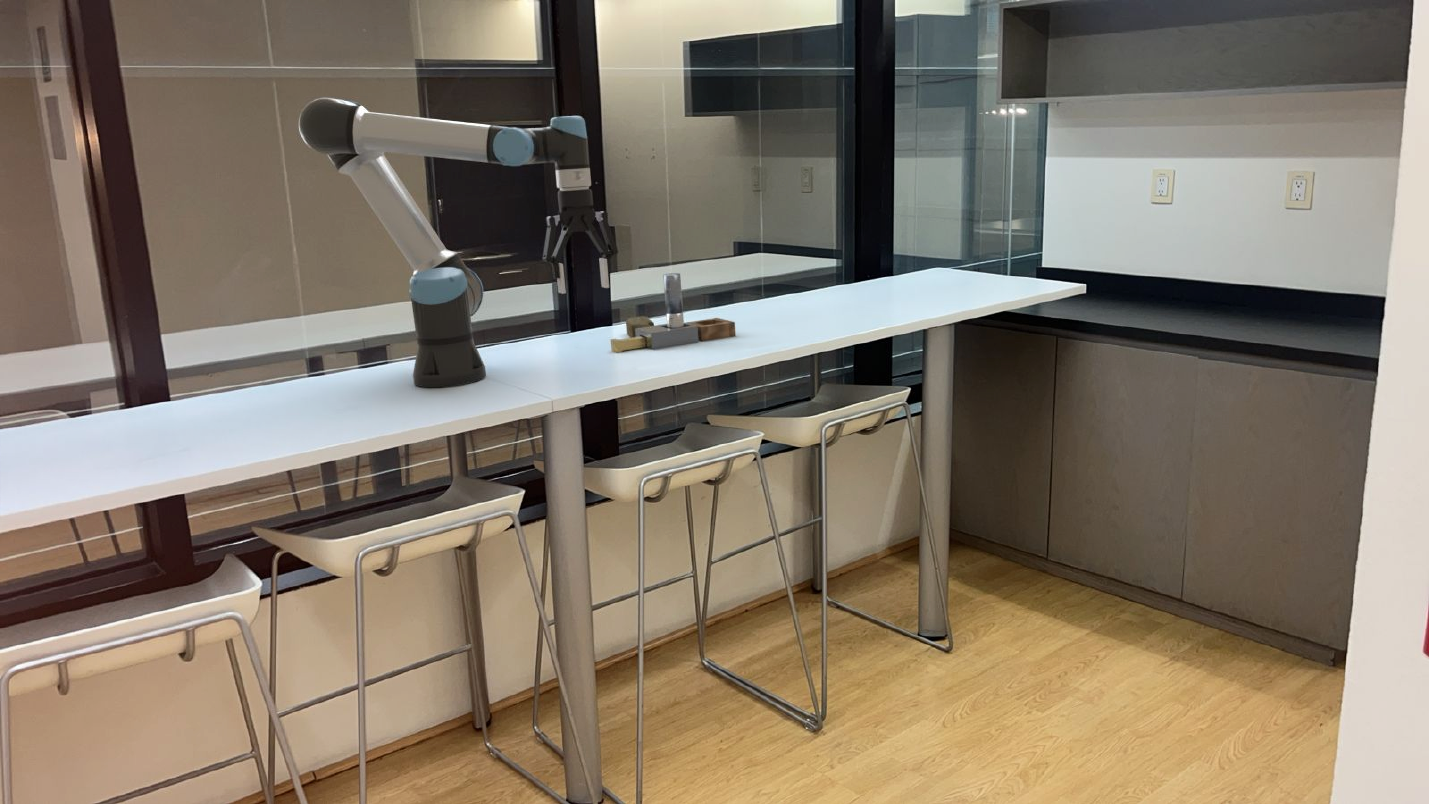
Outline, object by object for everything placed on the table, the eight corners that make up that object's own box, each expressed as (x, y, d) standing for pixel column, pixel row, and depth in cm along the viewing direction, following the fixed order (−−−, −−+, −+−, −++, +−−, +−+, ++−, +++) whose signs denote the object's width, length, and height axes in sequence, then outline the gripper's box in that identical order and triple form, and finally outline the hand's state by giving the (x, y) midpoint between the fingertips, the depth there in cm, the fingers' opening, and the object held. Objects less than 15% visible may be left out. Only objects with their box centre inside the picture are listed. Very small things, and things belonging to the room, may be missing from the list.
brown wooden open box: (702, 343, 249) (701, 327, 248) (685, 339, 257) (684, 322, 256) (735, 338, 253) (734, 322, 252) (717, 333, 261) (716, 317, 260)
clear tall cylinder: (672, 344, 248) (667, 276, 244) (665, 341, 252) (660, 274, 248) (688, 341, 250) (683, 274, 246) (680, 339, 253) (675, 272, 250)
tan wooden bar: (617, 353, 242) (615, 341, 242) (611, 351, 245) (610, 339, 244) (651, 347, 246) (650, 335, 245) (645, 345, 249) (644, 334, 248)
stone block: (648, 334, 268) (647, 314, 267) (656, 342, 257) (655, 321, 256) (625, 336, 267) (624, 317, 266) (633, 344, 256) (631, 324, 255)
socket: (652, 352, 243) (651, 333, 242) (636, 346, 251) (635, 328, 250) (698, 344, 249) (697, 326, 248) (681, 339, 256) (680, 321, 255)
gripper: (531, 193, 224) (542, 297, 229) (627, 185, 234) (636, 285, 239) (520, 192, 230) (530, 294, 236) (614, 184, 240) (622, 282, 246)
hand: (583, 290), depth 238 cm, fingers open, 10 cm apart
